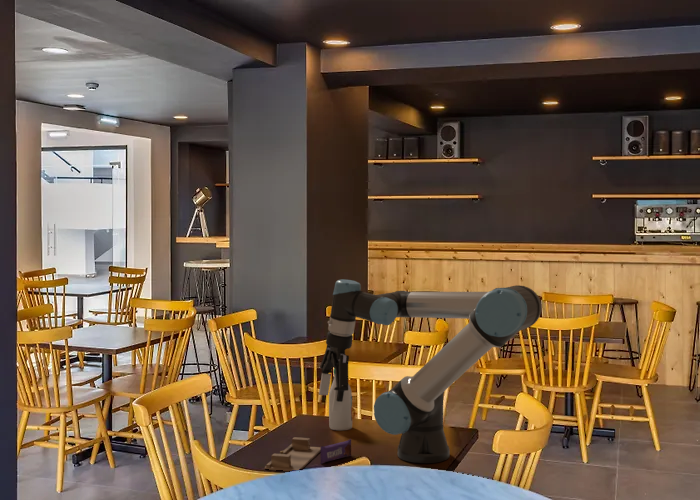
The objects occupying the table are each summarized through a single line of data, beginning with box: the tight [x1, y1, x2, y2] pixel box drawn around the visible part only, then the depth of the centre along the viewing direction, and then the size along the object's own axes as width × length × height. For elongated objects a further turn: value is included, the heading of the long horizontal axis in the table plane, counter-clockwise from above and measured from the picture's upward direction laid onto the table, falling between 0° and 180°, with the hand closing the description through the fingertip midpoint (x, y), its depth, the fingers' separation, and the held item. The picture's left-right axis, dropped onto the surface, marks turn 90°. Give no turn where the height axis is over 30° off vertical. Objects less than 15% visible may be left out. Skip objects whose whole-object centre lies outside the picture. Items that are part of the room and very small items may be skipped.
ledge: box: [264, 436, 321, 472], centre depth 223 cm, size 22×10×4 cm, turn 165°
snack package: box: [320, 438, 352, 465], centre depth 222 cm, size 12×2×5 cm, turn 131°
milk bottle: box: [328, 367, 353, 431], centre depth 256 cm, size 8×8×20 cm
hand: (329, 402), depth 226 cm, fingers open, 13 cm apart
